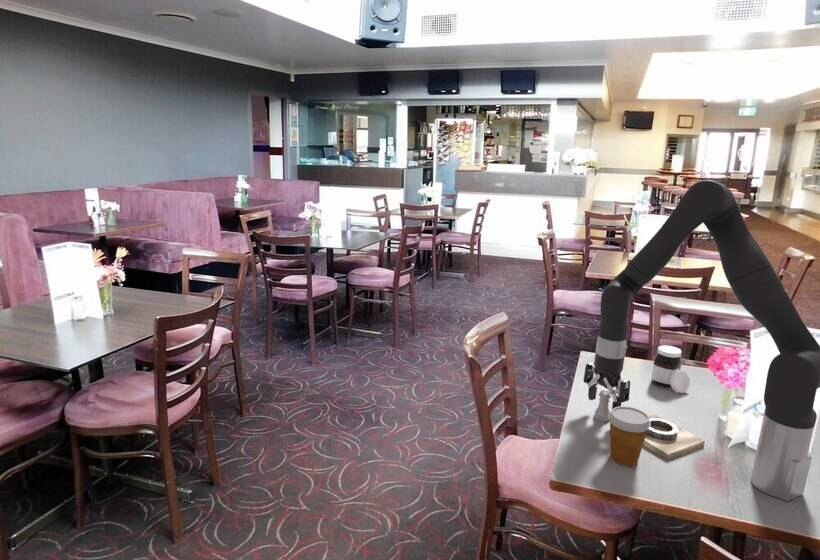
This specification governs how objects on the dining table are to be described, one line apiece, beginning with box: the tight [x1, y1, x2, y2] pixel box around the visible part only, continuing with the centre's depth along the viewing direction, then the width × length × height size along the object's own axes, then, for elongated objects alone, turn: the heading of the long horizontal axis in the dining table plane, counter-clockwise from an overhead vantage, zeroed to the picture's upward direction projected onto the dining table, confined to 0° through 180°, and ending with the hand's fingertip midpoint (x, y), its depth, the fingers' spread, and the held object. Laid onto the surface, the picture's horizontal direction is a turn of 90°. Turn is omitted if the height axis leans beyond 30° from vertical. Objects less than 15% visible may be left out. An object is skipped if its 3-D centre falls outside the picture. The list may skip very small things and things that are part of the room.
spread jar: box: [651, 345, 691, 394], centre depth 172 cm, size 12×11×12 cm
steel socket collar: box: [646, 418, 678, 441], centre depth 142 cm, size 8×8×2 cm
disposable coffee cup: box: [608, 405, 651, 467], centre depth 131 cm, size 10×10×12 cm
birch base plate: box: [643, 412, 706, 461], centre depth 142 cm, size 16×14×2 cm
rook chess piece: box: [593, 389, 612, 422], centre depth 151 cm, size 4×4×8 cm
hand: (603, 405), depth 151 cm, fingers open, 8 cm apart
